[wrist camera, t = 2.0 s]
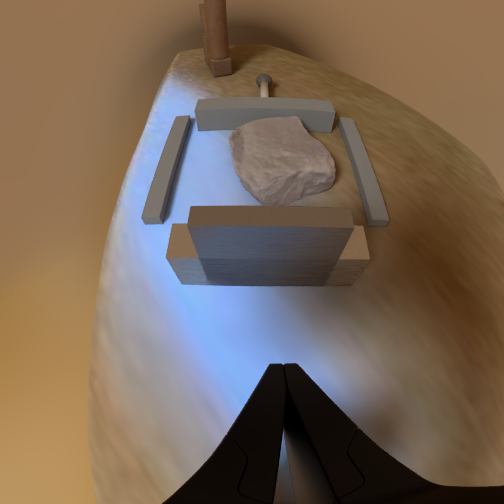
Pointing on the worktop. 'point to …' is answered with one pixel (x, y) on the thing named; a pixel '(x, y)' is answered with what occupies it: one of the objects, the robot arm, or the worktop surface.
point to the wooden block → (215, 37)
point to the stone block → (280, 160)
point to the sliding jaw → (268, 246)
